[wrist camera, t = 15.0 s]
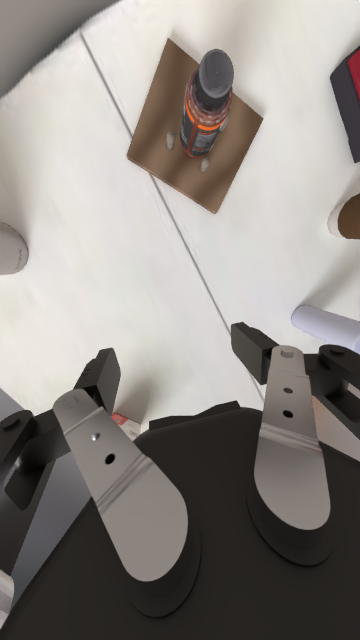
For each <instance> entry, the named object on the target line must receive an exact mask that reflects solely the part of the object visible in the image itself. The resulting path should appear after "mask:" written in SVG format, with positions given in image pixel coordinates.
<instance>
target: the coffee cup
mask: <svg viewBox="0 0 360 640" xmlns="http://www.w3.org/2000/svg"><path fill="white" fill-rule="evenodd" d="M327 224H328V230H329V232H330V233H331V234H332V235H334V236H336V237H345V238H346V239H360V194H358V195H356V196H353V197H351V198H350V199H349V200H347V201H345V202H343V203H341V204H340V205H339V206H337V207H336V208H335V209H334V210H333V211H332V213H331V214H330V216H329V219H328V223H327Z"/></svg>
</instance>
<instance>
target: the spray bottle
mask: <svg viewBox="0 0 360 640" xmlns="http://www.w3.org/2000/svg"><path fill="white" fill-rule="evenodd" d="M291 321H292V324H293V326H294V327H296V328H298V329H300V330H302V331H304V332H306V333H308V334H310V335H312V336H314V337H316V338H318V339H320V340H322V341H324V342H326V343H328V344H333V345H340V346H343V347H346V348H349V349H351V350H352V351H354V352H356V353H358V354H360V321H357V320H353V319H350V318H347V317H344V316H340V315H337V314H334V313H331V312H328V311H324V310H321V309H318V308H315V307H311V306H307V305H305V306H301V307H299V308H297V309H296V310H295V311H294V313H293V315H292V318H291Z"/></svg>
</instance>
